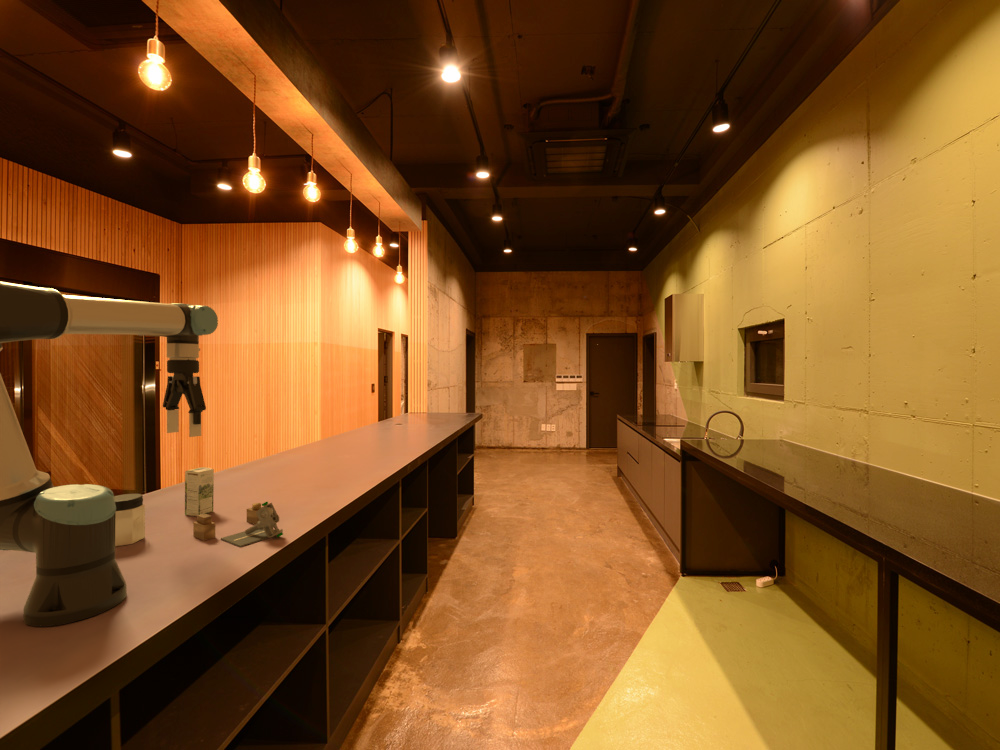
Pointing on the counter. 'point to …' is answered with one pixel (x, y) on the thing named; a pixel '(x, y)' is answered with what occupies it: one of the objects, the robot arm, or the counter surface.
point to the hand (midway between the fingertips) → (183, 434)
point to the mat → (246, 538)
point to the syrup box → (199, 491)
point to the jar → (129, 519)
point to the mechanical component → (266, 521)
